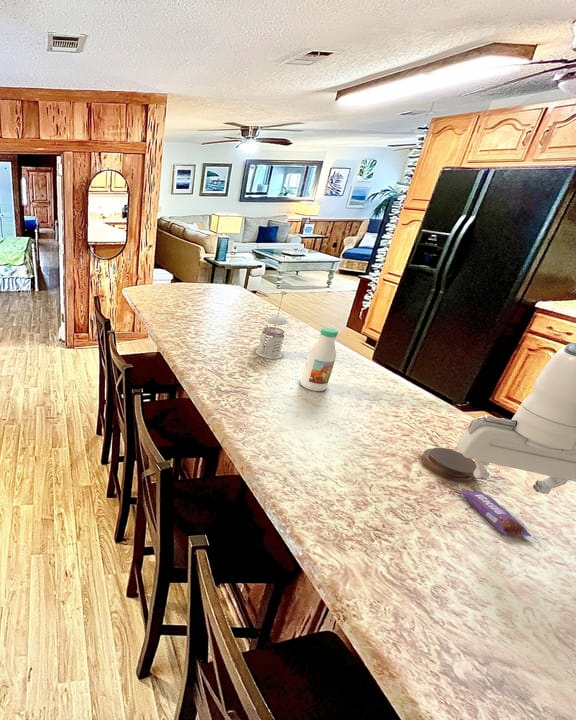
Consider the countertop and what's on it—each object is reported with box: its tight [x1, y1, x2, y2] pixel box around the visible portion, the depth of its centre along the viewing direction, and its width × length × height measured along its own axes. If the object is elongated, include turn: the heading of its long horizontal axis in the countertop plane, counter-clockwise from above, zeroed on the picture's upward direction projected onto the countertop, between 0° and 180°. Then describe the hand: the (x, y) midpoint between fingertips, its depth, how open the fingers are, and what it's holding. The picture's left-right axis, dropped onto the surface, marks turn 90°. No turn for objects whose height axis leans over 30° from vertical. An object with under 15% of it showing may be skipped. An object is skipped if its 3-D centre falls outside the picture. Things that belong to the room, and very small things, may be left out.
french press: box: [255, 290, 289, 360], centre depth 145 cm, size 10×12×25 cm
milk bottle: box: [300, 327, 339, 392], centre depth 124 cm, size 8×8×20 cm
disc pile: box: [422, 447, 476, 483], centre depth 92 cm, size 10×10×3 cm
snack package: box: [459, 490, 532, 537], centre depth 80 cm, size 12×2×5 cm
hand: (508, 484), depth 76 cm, fingers open, 8 cm apart
